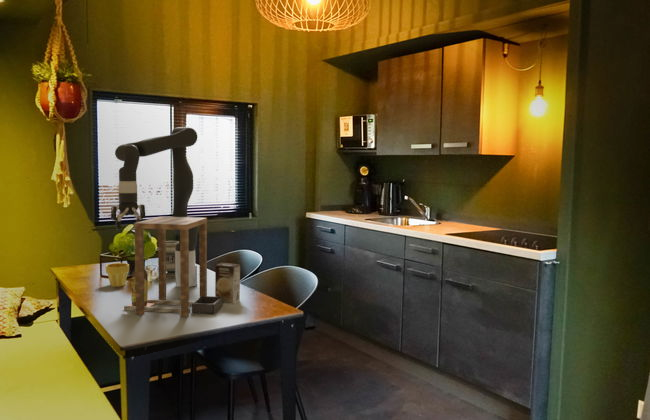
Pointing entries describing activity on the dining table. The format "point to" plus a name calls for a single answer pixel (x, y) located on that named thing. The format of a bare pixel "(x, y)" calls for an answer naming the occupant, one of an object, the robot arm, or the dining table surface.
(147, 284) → the sauce bottle
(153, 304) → the pad
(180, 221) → the frame
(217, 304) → the box
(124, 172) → the robot arm
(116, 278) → the plant pot
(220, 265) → the coffee box
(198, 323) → the dining table surface
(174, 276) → the apothecary jar
